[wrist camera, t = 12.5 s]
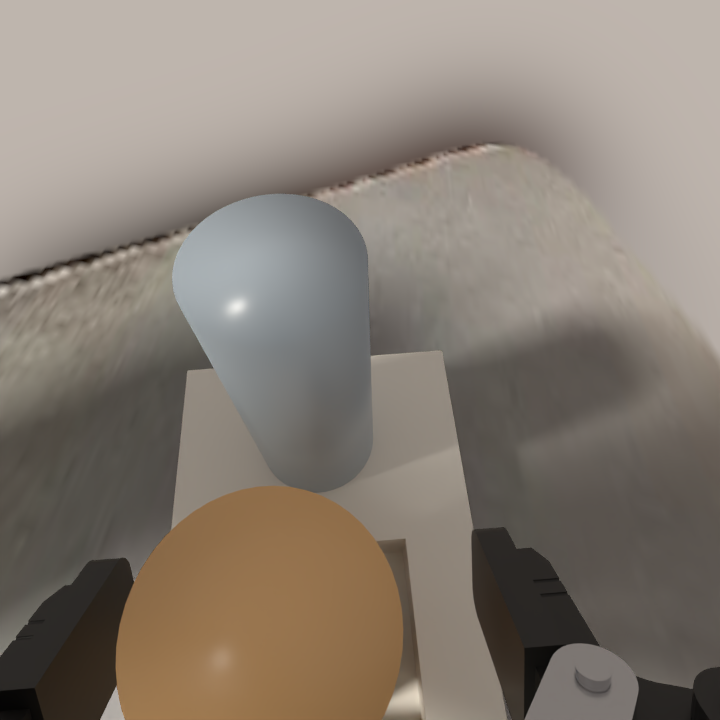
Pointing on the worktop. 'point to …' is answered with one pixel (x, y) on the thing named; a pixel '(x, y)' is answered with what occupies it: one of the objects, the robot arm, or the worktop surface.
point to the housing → (333, 425)
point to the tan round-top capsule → (262, 615)
